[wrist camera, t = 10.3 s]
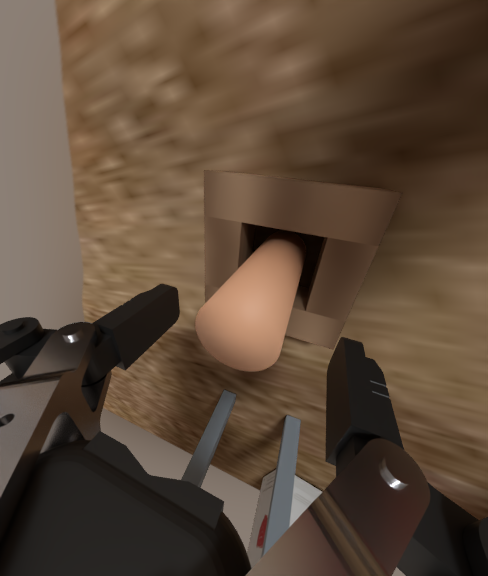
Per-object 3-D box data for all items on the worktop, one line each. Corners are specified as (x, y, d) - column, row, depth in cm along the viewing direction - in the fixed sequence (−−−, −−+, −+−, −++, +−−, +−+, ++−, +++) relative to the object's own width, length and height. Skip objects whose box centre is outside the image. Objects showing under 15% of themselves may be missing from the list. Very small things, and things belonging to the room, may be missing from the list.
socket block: (384, 188, 14) (402, 193, 11) (332, 321, 20) (333, 349, 17) (227, 171, 17) (203, 170, 14) (222, 291, 23) (205, 310, 20)
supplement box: (280, 464, 37) (257, 607, 25) (325, 491, 36) (325, 655, 24) (261, 476, 42) (234, 601, 30) (301, 501, 41) (290, 640, 29)
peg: (311, 234, 17) (290, 314, 7) (300, 276, 19) (272, 382, 9) (265, 227, 18) (193, 288, 8) (260, 267, 20) (196, 354, 10)
